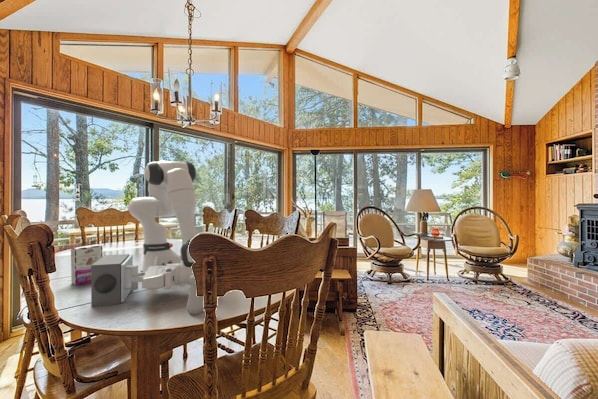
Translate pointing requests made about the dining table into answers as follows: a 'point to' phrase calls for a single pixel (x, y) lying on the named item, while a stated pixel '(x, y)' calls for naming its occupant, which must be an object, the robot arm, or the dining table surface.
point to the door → (128, 277)
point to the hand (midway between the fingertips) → (132, 277)
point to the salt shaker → (194, 299)
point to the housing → (106, 280)
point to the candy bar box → (84, 262)
